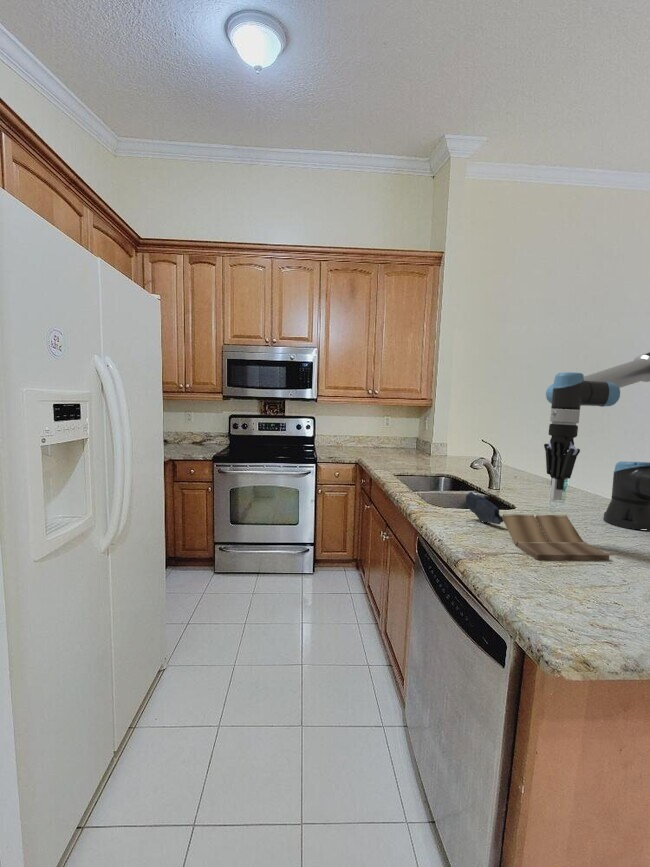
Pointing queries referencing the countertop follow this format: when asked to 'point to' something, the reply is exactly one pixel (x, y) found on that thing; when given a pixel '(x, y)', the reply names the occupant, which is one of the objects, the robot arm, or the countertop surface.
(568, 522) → the plank
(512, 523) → the plank
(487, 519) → the stone
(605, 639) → the countertop surface
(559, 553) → the floor board
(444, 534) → the countertop surface
